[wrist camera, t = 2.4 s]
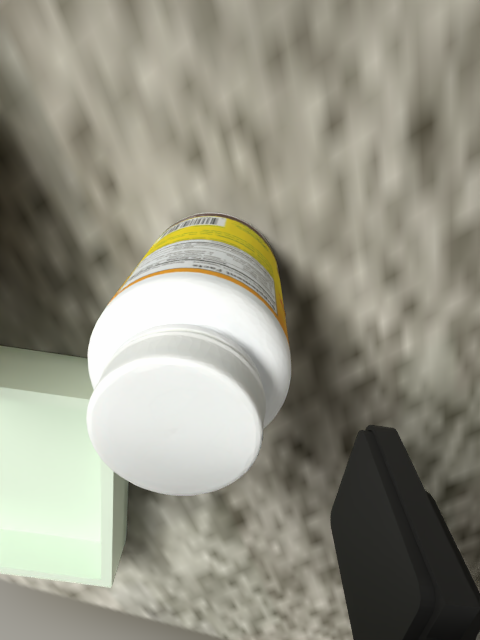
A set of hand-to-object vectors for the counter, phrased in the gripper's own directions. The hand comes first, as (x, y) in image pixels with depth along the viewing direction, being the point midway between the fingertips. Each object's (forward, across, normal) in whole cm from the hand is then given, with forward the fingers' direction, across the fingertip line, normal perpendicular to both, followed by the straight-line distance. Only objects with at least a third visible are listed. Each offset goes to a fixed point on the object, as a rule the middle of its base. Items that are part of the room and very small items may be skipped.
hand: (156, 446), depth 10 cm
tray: (+10, +10, +11) cm, 18 cm away
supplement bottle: (+10, -1, -1) cm, 10 cm away
